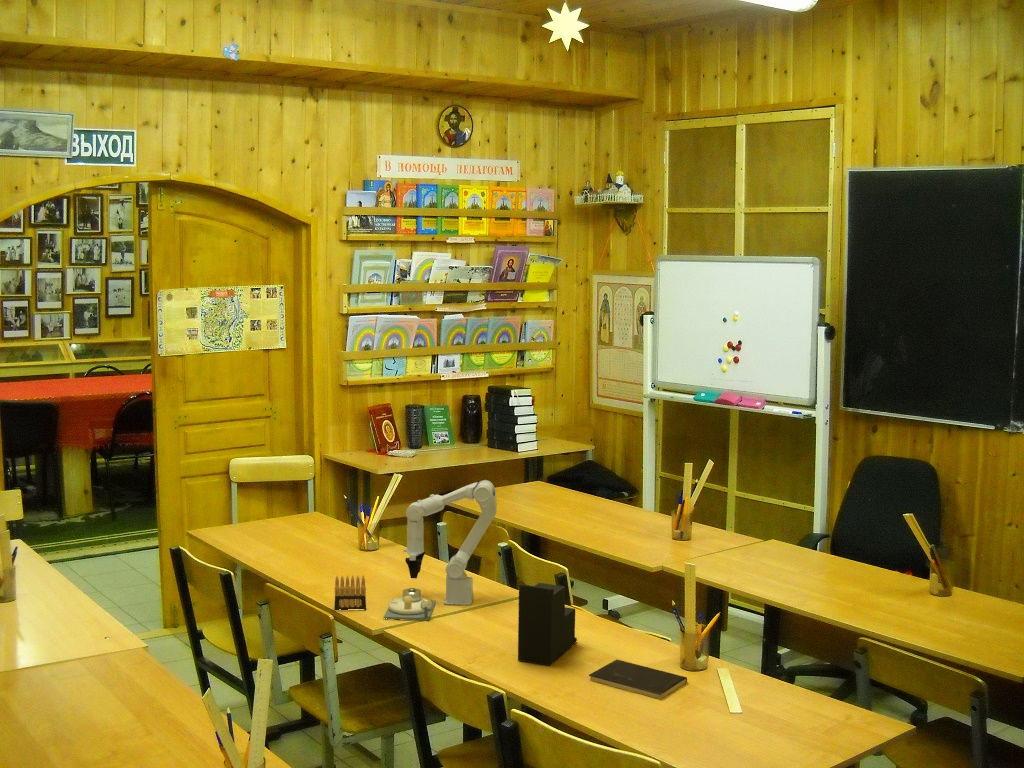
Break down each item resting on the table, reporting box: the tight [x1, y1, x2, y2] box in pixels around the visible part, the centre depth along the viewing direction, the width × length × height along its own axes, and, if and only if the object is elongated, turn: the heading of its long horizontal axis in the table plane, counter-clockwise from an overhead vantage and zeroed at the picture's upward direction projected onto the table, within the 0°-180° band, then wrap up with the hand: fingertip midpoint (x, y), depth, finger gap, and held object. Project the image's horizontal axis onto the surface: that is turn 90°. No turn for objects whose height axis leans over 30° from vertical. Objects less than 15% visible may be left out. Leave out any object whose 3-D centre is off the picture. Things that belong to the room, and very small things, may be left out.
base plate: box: [383, 598, 437, 622], centre depth 378 cm, size 15×19×1 cm
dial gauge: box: [421, 599, 432, 617], centre depth 369 cm, size 4×1×7 cm, turn 87°
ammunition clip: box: [333, 574, 367, 610], centre depth 378 cm, size 11×2×12 cm, turn 96°
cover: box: [402, 587, 422, 603], centre depth 381 cm, size 6×6×4 cm
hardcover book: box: [588, 659, 688, 700], centre depth 318 cm, size 16×23×2 cm
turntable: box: [388, 596, 432, 614], centre depth 378 cm, size 14×14×6 cm
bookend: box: [517, 582, 578, 666], centre depth 340 cm, size 23×11×24 cm, turn 157°
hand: (415, 575), depth 389 cm, fingers open, 6 cm apart
